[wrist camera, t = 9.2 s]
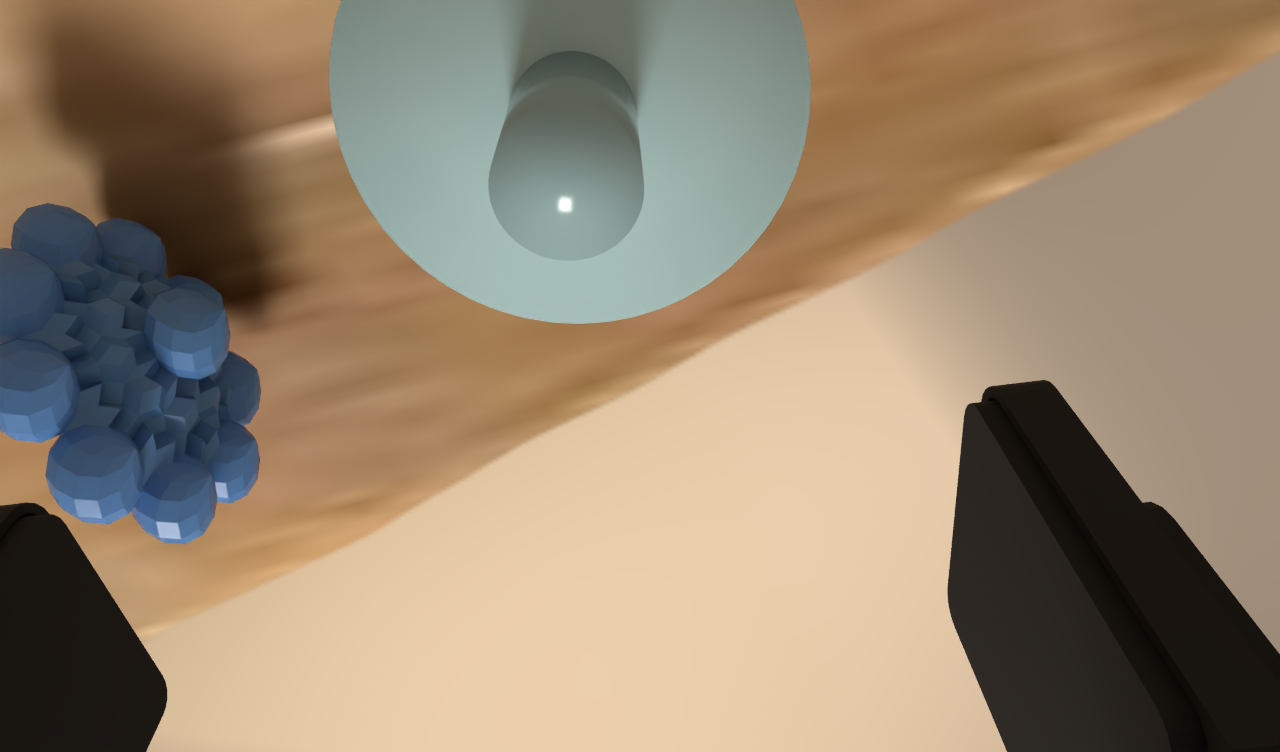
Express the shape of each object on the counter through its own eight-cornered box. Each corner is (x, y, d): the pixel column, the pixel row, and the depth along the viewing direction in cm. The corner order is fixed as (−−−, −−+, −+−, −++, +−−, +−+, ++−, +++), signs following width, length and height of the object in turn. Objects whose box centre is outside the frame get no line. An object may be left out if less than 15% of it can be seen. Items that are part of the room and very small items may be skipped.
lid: (273, -124, 21) (164, -94, 16) (796, -198, 20) (862, -195, 15) (409, 326, 27) (364, 452, 22) (806, 277, 27) (855, 394, 22)
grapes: (376, 346, 38) (295, 547, 28) (255, 416, 40) (137, 629, 30) (164, 109, 32) (-33, 253, 22) (34, 202, 34) (-205, 376, 24)
